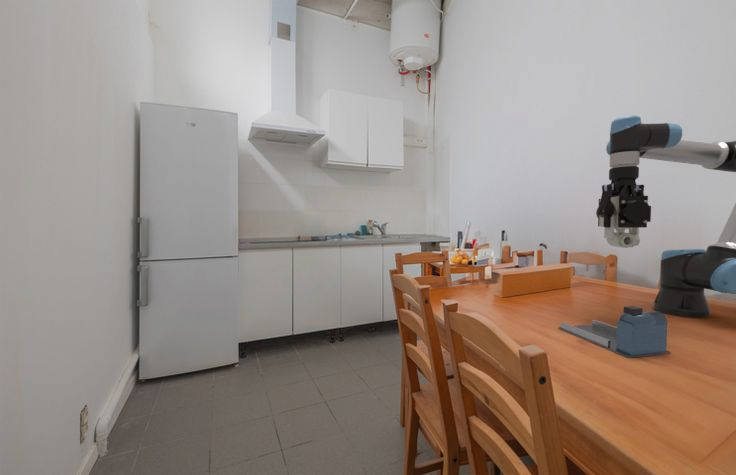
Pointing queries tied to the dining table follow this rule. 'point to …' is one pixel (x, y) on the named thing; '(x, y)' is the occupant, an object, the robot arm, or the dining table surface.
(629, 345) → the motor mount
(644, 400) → the dining table surface
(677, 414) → the dining table surface
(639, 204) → the ball valve
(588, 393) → the dining table surface
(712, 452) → the dining table surface
